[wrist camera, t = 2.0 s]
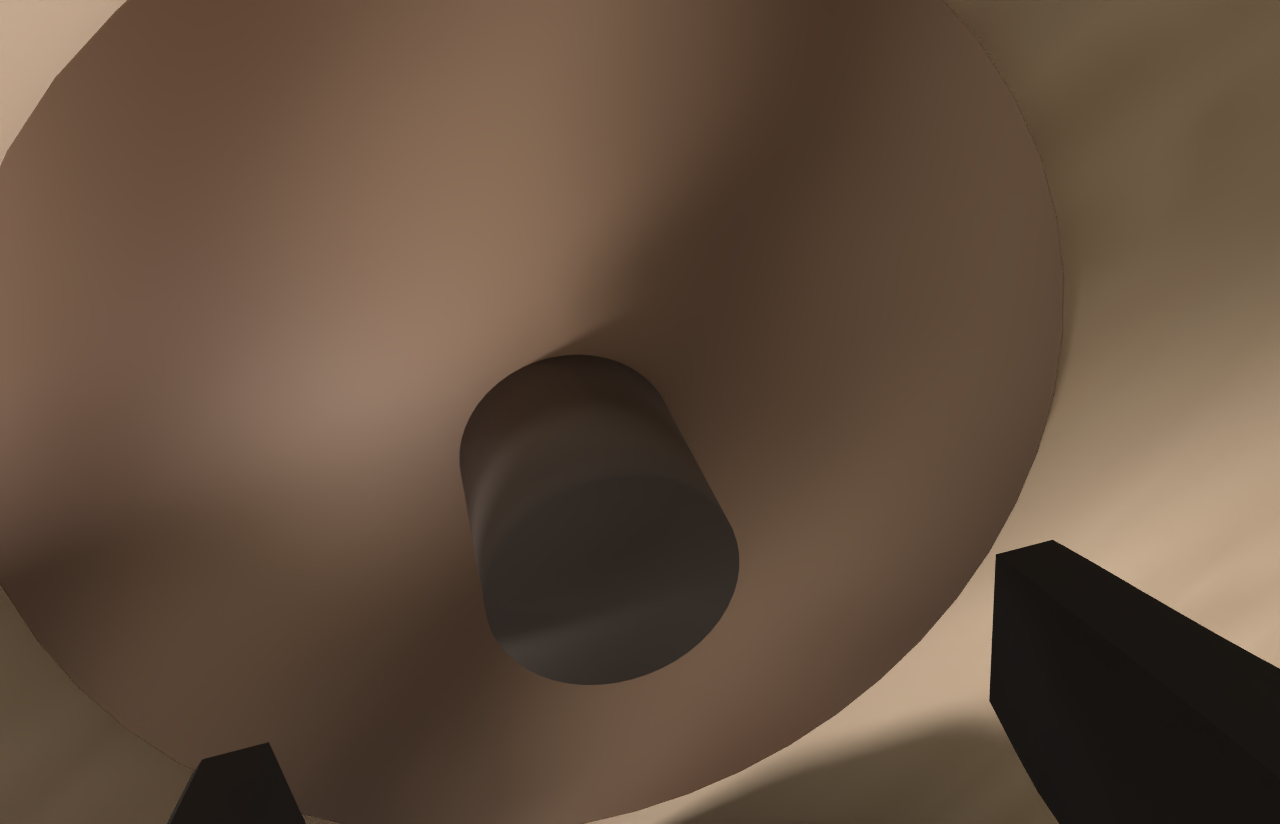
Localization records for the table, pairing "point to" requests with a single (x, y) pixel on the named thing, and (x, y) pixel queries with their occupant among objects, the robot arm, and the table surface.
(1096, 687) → the robot arm
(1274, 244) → the table surface
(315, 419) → the lid
